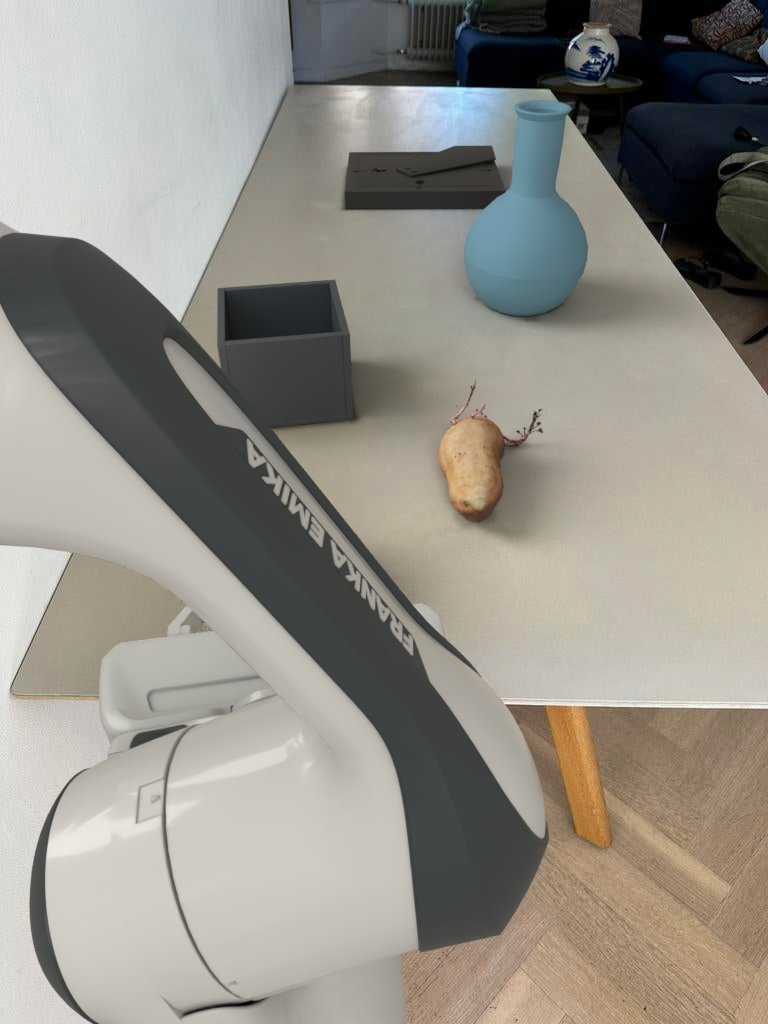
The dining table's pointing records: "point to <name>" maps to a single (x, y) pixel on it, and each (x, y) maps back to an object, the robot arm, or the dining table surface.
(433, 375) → the dining table surface
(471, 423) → the vegetable
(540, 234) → the vase
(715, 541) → the dining table surface
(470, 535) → the dining table surface
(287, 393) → the gray open box
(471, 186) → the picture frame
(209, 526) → the robot arm
